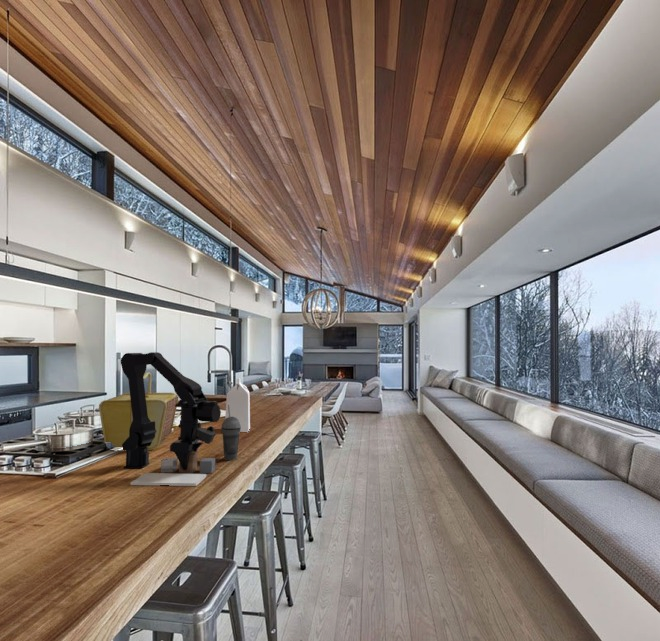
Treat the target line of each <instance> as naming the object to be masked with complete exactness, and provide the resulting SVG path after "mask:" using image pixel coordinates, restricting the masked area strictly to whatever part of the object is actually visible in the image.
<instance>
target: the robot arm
mask: <svg viewBox="0 0 660 641" xmlns="http://www.w3.org/2000/svg"><path fill="white" fill-rule="evenodd" d="M120 365H121V369H122V372H123V374H124V375H125V376H126V379H128V388H129V393H130V399H131V408H132V417H133V421H132V423H131V426H130V428H129V437H128V438H127V439H126V440H125V442H124V443H123V444H122V447H123V450H126V451H125V465H124V466H122V467H123V468H124V469H142V468H144V467H146V466H148V465H149V464H150V460H149V459H150V452H149V450H148V446H151V443H152V441H153V439H154V438H155V433H156V432H157V431H156V429H155V421H152V422H151V421H150V419H149V418H148V414H147V405H146V396H145V393H146V390H145V381H144V380H145V379H143V376H144V374H145V373H146V371H147V369H148V368H147V367H148V366H149V365H150V366H151V367H153V368H154V369H155V370H156V371H157V372H158V373H159V374H160V375H161V376H162V377H163V378H165V379H166V380H167V382H168V383H170V385H171V386H172V387H173V389H174V393H175V394H177V396H178V399H179V400H178V403H177V404H176V405H175V407H177V408H180V423H179V424H178V429H179V430H180V431H179V433H180V434H179V436H178V437H177V440H175V441H173V442H171V444H170V445H169V452H173V453H174V454H175V456H176V458H178V459H177V461H179V463H180V464H181V466H182V468H183V470H187V466H188V460H189V454H190V453H191V452H197V453H198V450H199V447H201V446H203V444H204V443H205V444H207V445H210V444H211V443H213V441H214V438H215V436H216V431H215V427H214V426H212V425H209V426H208V427H207V428H206V427H202V423H201V422H207V423H208V422H209V423H218V422H219V420H220V418H221V415H222V414H221V412H222V411H221V408H220V406H219V404H218V401H217V400H213V401H209V400H208V398H207V396H206V395H205V394H204V392H203V390H202V389H203V387H202V386H201V384H199V383H198V382H197V381H195V380H193V379H191V378H189V377H186V376H185V375H184V374H182V373H181V372H180V371H179V370H178V369H177V368H175V367H174V366H173V364H172V363H171V362H169V360H167V359H166V358H165V357H164V356H163V355H162V353H160V352H157V351H156V352H155V351H154V352H147V353H142V352H127V353H125V354H123V356H122V357H121V358H120ZM147 365H148V366H147ZM200 441H201V442H200Z"/></svg>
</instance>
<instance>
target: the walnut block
mask: <svg viewBox="0 0 660 641" xmlns="http://www.w3.org/2000/svg"><path fill="white" fill-rule="evenodd" d="M178 467H179V469H178V472H179V473H178V474H194V473H195V472H196V471H197V470H198V451H197V452H191V453H190V454H189V460H188V466H187V470H183V468H182V466H181V464H180V462H179V466H178ZM196 469H197V470H196ZM195 470H196V471H195ZM194 471H195V472H194Z"/></svg>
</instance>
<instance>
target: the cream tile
mask: <svg viewBox="0 0 660 641" xmlns="http://www.w3.org/2000/svg"><path fill="white" fill-rule="evenodd" d="M206 477H207V473H174V472H173V473H164V472H159V473H158V472H144V473H143V474H142V475H140V476H138V477H136V478H135V479H134V480H131V482H130V486H160V485H169V486H168V487H173V486H175V487H176V486H177V487H197V486H198V485H199V484H200V483H201V482H202V481H204V479H205V478H206Z"/></svg>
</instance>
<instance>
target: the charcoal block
mask: <svg viewBox="0 0 660 641" xmlns="http://www.w3.org/2000/svg"><path fill="white" fill-rule="evenodd" d="M215 471H216V458H215V457H203V458H202V459H201V460H199V474H212V473H214V472H215Z"/></svg>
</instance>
